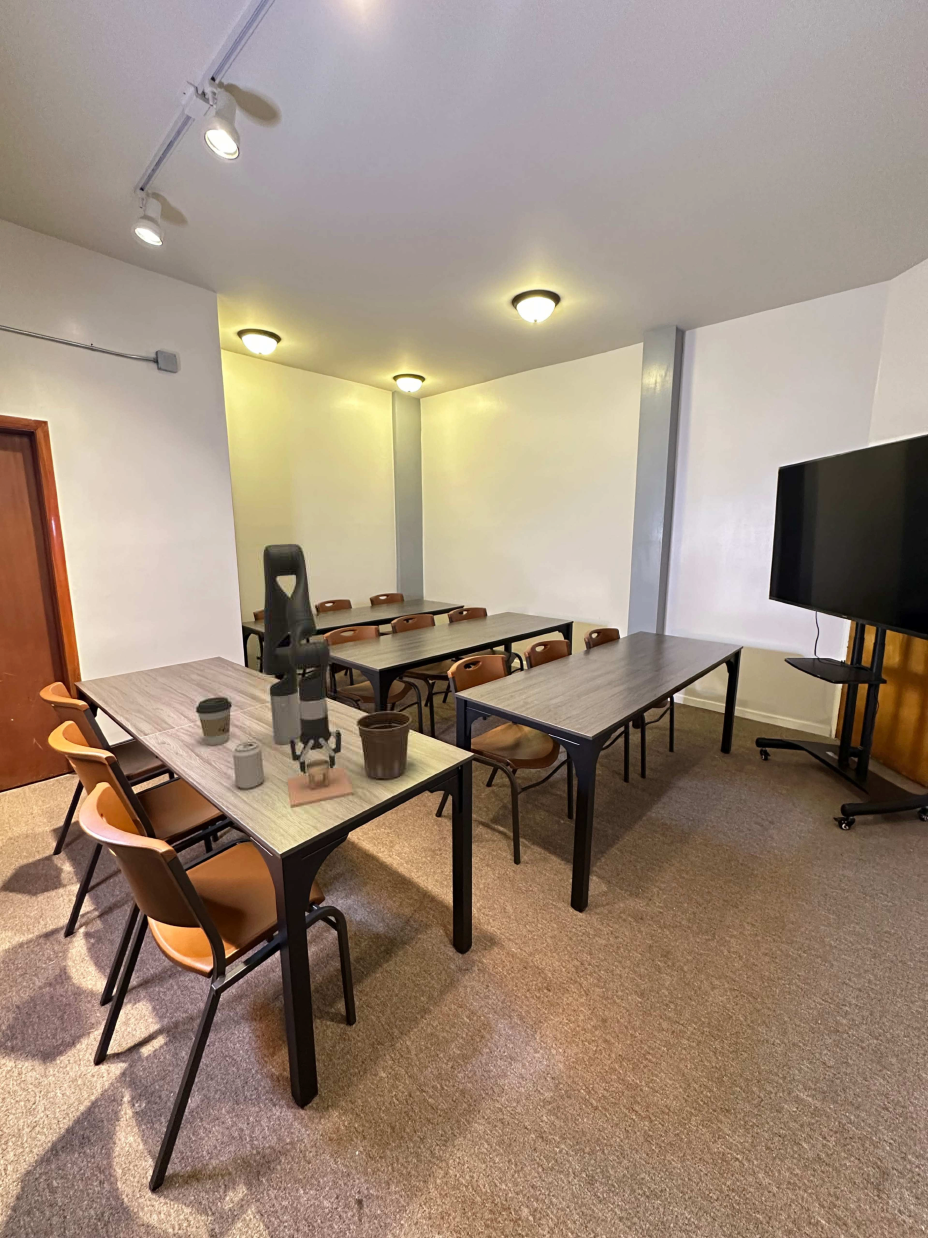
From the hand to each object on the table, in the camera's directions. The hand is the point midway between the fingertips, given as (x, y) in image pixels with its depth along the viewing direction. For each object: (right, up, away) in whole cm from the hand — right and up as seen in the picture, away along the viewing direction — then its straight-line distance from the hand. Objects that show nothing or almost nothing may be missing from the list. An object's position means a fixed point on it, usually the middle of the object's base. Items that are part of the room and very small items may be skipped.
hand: (317, 769), depth 137 cm
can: (-21, -5, +4) cm, 22 cm away
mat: (0, -5, +1) cm, 5 cm away
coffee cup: (-46, -1, +35) cm, 58 cm away
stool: (0, -4, +1) cm, 5 cm away
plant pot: (+18, -4, +10) cm, 21 cm away
